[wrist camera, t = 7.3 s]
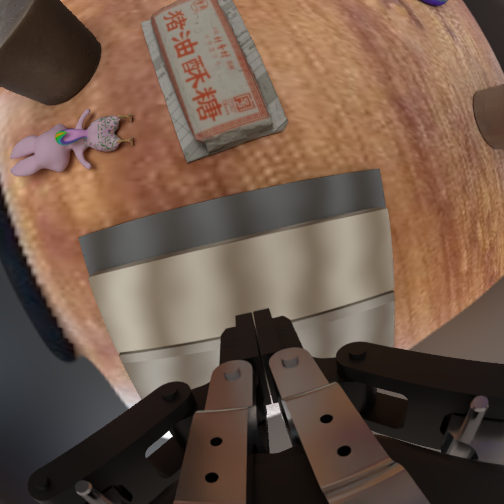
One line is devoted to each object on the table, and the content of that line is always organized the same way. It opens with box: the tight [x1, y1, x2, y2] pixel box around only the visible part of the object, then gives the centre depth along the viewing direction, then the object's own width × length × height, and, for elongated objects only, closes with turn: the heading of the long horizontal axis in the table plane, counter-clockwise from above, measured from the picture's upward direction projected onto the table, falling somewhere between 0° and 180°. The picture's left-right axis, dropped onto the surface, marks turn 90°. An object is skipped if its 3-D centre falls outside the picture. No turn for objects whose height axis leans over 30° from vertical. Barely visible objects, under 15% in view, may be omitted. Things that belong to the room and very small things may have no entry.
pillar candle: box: [0, 0, 101, 105], centre depth 13 cm, size 10×10×15 cm
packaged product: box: [141, 0, 288, 163], centre depth 20 cm, size 18×5×10 cm
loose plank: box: [88, 207, 394, 353], centre depth 24 cm, size 28×9×2 cm, turn 102°
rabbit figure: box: [10, 109, 134, 176], centre depth 20 cm, size 6×6×15 cm
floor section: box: [78, 169, 395, 399], centre depth 26 cm, size 30×20×4 cm, turn 102°
